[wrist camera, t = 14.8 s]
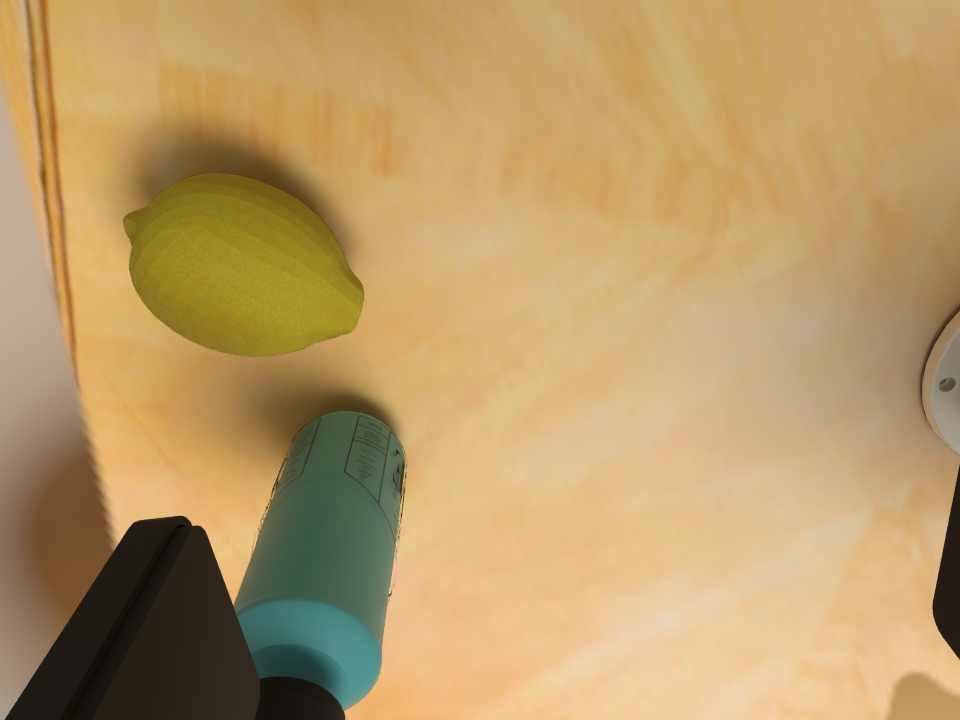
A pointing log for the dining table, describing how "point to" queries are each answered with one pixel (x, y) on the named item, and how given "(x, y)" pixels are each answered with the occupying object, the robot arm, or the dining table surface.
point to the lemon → (241, 267)
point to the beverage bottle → (324, 569)
